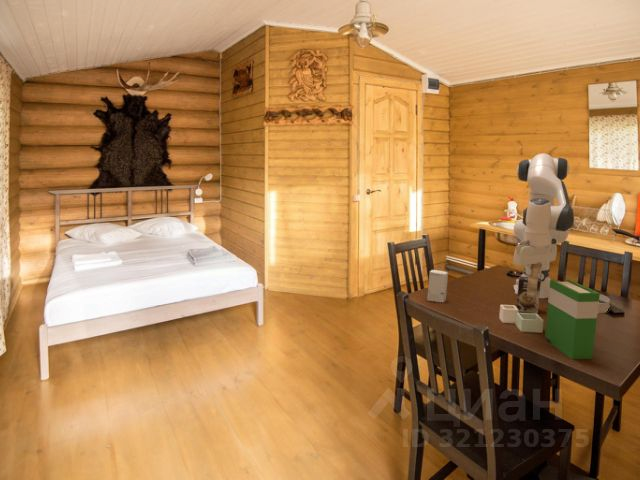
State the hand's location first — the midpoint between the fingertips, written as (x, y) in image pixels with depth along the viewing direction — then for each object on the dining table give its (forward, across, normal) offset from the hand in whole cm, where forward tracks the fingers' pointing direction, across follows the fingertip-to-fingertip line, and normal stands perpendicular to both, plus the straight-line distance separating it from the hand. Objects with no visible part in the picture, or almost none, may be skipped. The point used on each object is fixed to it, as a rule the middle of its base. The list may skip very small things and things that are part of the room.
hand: (533, 274), depth 177 cm
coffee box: (+24, +18, +16) cm, 34 cm away
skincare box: (+24, -8, +47) cm, 54 cm away
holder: (+24, 0, 0) cm, 24 cm away
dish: (+24, +50, +12) cm, 56 cm away
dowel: (+9, 0, 0) cm, 9 cm away
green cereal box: (+24, -1, -18) cm, 30 cm away
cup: (+24, -1, +10) cm, 26 cm away
